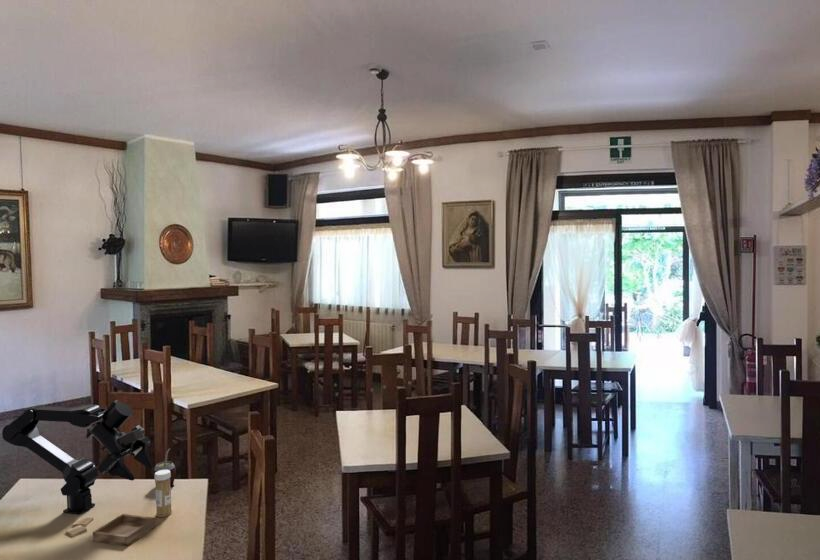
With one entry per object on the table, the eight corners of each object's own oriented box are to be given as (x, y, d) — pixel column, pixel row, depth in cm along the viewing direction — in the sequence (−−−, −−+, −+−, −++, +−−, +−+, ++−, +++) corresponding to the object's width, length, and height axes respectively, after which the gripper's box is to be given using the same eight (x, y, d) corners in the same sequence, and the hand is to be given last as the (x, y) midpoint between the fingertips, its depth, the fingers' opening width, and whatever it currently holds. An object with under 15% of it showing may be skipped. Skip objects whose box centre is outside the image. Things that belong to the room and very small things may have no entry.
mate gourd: (161, 481, 199) (159, 440, 199) (182, 482, 199) (180, 441, 198) (149, 490, 192) (147, 448, 191) (171, 491, 191) (170, 448, 190)
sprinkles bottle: (173, 514, 174) (171, 472, 173) (157, 518, 172) (155, 475, 171) (170, 509, 178) (168, 467, 177) (154, 513, 175) (153, 471, 175)
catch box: (93, 541, 159) (92, 532, 158) (123, 521, 170) (122, 513, 170) (127, 545, 156) (127, 537, 156) (156, 525, 167) (155, 517, 167)
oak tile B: (65, 534, 164) (65, 530, 163) (80, 528, 167) (80, 525, 167) (72, 538, 161) (72, 534, 161) (86, 532, 165) (86, 528, 164)
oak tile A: (72, 528, 167) (72, 524, 167) (80, 521, 171) (80, 517, 171) (86, 528, 167) (85, 524, 167) (93, 521, 171) (93, 517, 171)
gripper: (105, 429, 166) (140, 468, 165) (144, 411, 184) (176, 446, 183) (82, 454, 168) (117, 492, 166) (123, 434, 186) (155, 468, 185)
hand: (143, 473), depth 175 cm, fingers open, 9 cm apart
